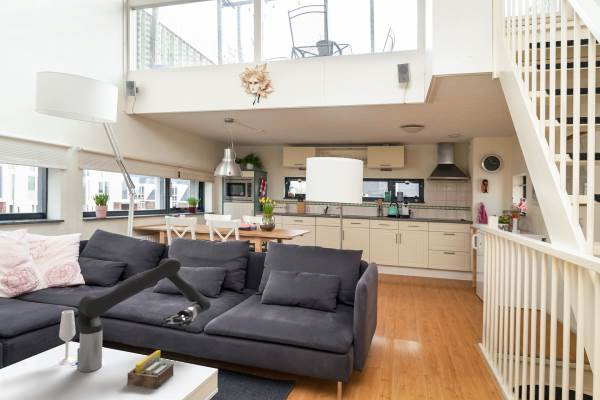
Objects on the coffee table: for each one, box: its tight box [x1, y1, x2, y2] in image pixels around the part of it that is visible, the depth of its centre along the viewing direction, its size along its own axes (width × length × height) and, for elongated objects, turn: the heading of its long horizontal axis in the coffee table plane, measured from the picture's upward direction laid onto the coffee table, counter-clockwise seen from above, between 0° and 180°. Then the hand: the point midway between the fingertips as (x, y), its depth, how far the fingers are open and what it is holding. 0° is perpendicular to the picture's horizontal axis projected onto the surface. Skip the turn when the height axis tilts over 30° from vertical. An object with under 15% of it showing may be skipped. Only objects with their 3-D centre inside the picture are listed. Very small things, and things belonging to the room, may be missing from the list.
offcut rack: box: [126, 362, 174, 390], centre depth 159 cm, size 14×12×5 cm
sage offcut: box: [146, 361, 161, 375], centre depth 160 cm, size 2×8×6 cm, turn 168°
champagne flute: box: [58, 309, 76, 365], centre depth 176 cm, size 7×7×24 cm
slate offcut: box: [153, 365, 168, 376], centre depth 158 cm, size 2×7×6 cm, turn 168°
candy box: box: [135, 349, 162, 374], centre depth 164 cm, size 16×2×8 cm, turn 168°
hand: (170, 325), depth 181 cm, fingers open, 8 cm apart
